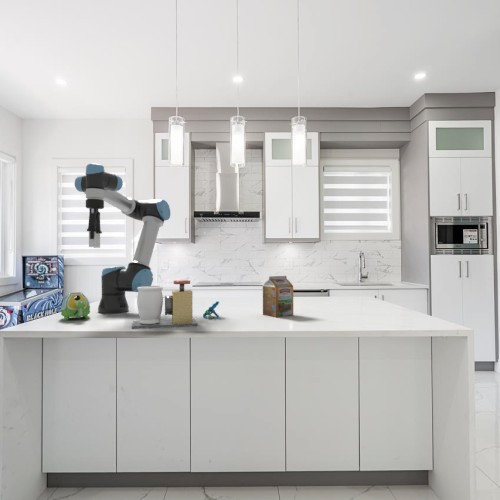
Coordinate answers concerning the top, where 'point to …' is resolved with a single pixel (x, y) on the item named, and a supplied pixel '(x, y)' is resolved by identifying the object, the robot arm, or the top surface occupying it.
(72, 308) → the turtle holder
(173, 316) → the valve fitting
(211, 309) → the teal toy telescope
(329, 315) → the top surface
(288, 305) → the milk carton
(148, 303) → the jar
